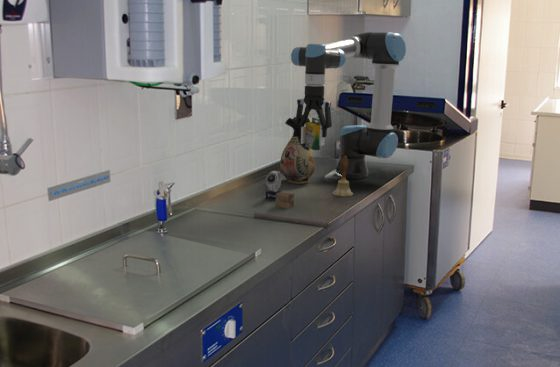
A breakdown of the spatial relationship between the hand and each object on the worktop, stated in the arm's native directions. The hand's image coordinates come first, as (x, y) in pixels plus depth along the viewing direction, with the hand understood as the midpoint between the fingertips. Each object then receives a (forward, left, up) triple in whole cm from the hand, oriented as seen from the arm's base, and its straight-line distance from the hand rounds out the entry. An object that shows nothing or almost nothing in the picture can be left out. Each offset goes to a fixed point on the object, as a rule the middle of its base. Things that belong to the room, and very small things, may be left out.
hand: (312, 144), depth 257 cm
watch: (+8, -12, -22) cm, 27 cm away
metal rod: (+31, +9, -23) cm, 39 cm away
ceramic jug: (-22, -18, -22) cm, 36 cm away
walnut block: (+15, -3, -22) cm, 27 cm away
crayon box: (0, 0, -2) cm, 2 cm away
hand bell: (-15, +7, -22) cm, 28 cm away
